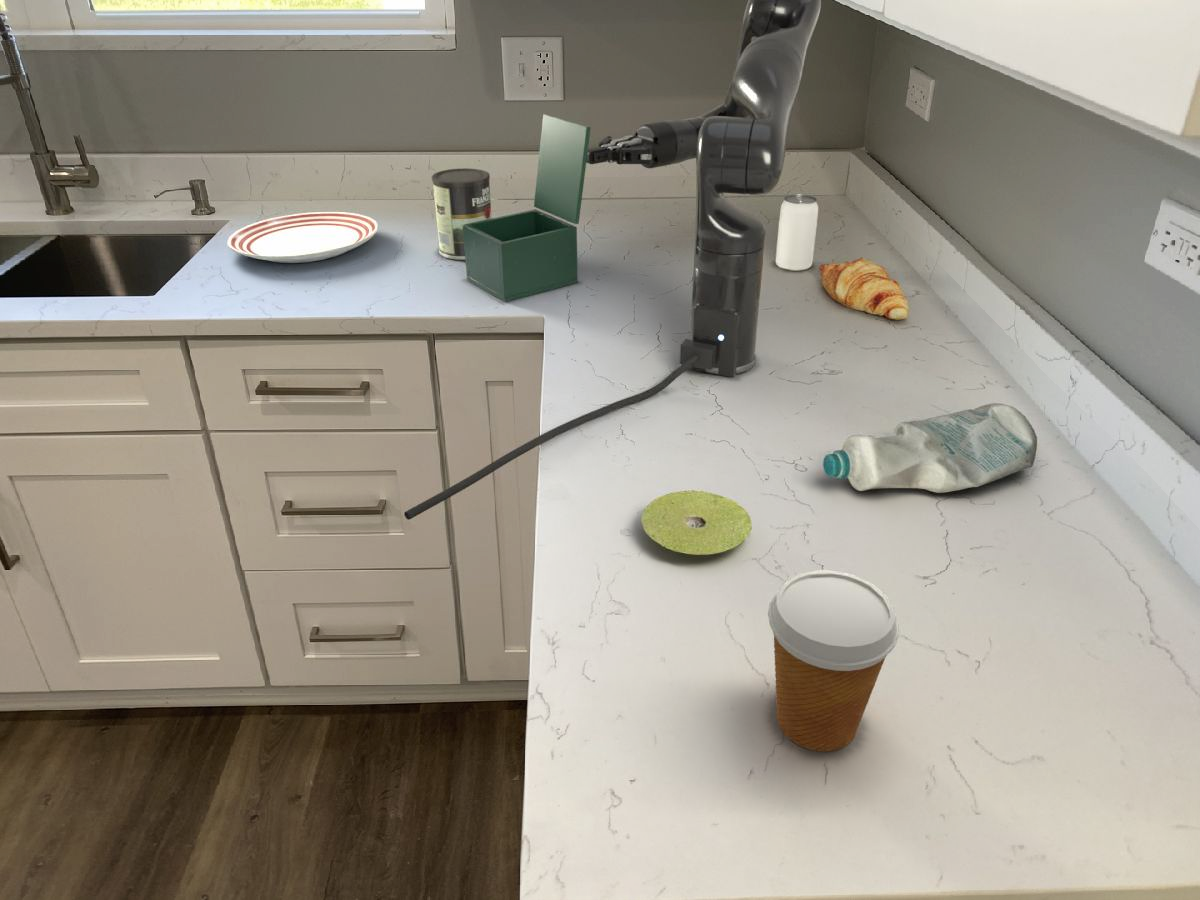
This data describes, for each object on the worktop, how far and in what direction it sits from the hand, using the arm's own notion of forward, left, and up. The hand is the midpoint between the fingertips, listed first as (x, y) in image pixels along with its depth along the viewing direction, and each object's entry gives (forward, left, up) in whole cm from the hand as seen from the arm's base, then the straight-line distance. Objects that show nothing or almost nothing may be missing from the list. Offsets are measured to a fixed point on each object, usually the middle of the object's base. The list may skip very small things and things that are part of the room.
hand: (587, 157), depth 156 cm
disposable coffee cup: (-90, -61, -19) cm, 110 cm away
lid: (-5, +3, -1) cm, 6 cm away
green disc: (-70, -44, -19) cm, 85 cm away
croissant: (+1, -48, -19) cm, 52 cm away
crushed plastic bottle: (-49, -64, -19) cm, 83 cm away
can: (+14, -34, -19) cm, 41 cm away
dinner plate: (-12, +53, -19) cm, 58 cm away
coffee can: (-2, +24, -19) cm, 31 cm away
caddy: (-12, +7, -19) cm, 24 cm away
